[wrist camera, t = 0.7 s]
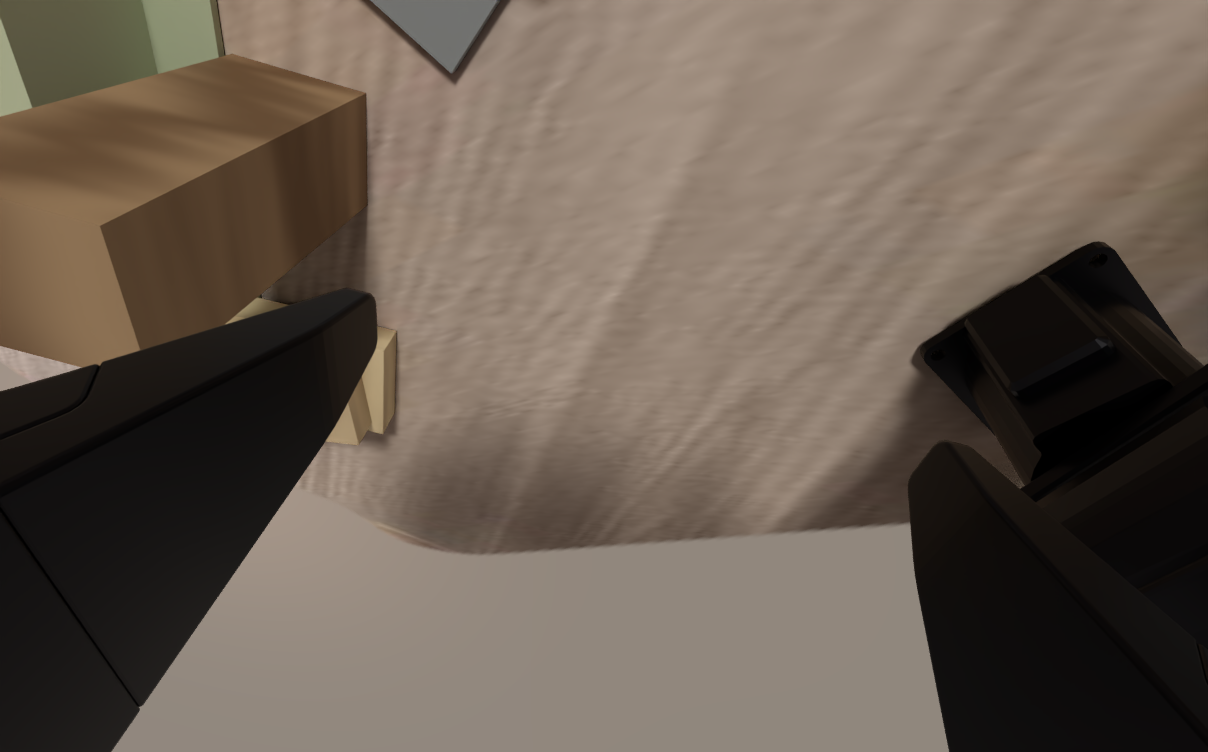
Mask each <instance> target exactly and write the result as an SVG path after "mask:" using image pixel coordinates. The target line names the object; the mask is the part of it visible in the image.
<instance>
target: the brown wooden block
mask: <svg viewBox="0 0 1208 752" xmlns="http://www.w3.org/2000/svg"><path fill="white" fill-rule="evenodd" d="M366 206H367V139H366V93H363V92H360V91H356V90H353V89H350V88H346V87H343V86H339V85H336V84H332V83H329V82H326V81H322V80H319V79H315V78H312V77H309V76H305V75H302V74H298V73H295V72H292V71H288V70H285V69H281V68H278V67H275V66H271V65H268V64H264V63H261V62H258V61H254V60H251V59H247V58H244V57H240V56H237V55H234V54H230V55H226V56H223V57H219V58H215V59H211V60H208V61H204V62H200V63H197V64H193V65H189V66H186V67H182V68H178V69H175V70H171V71H167V72H163V73H160V74H156V75H152V76H149V77H145V78H141V79H138V80H134V81H130V82H127V83H123V84H119V85H115V86H112V87H108V88H104V89H101V90H97V91H93V92H90V93H86V94H82V95H78V96H75V97H71V98H67V99H64V100H60V101H56V102H53V103H49V104H45V105H42V106H38V107H34V108H30V109H27V110H23V111H19V112H16V113H12V114H8V115H5V116H1V117H0V346H3V347H7V348H11V349H14V350H18V351H22V352H26V353H30V354H33V355H37V356H41V357H45V358H49V359H52V360H56V361H60V362H64V363H68V364H71V365H75V366H79V367H86V366H89V365H92V364H98V365H99V366H100V365H101V363H102V362H103V361H106V360H110V359H113V358H116V357H119V356H123V355H126V354H129V353H133V352H136V351H139V350H143V349H146V348H149V347H152V346H156V345H159V344H162V343H166V342H169V341H172V340H176V339H179V338H182V337H185V336H189V335H192V334H195V333H199V332H202V331H205V330H209V329H212V328H215V327H218V326H222V325H225V324H226V323H227V322H228V321H230V320H231V319H232V318H233V317H234V316H236V315H237V314H238V313H239V312H240V311H242V310H243V309H244V308H245V307H246V306H248V305H249V304H250V303H251V302H252V301H253V300H255V299H256V298H257V297H258V296H259V295H261V294H262V293H263V292H264V291H265V290H267V289H268V288H269V287H270V286H271V285H273V284H274V283H275V282H276V281H277V280H279V279H280V278H281V277H282V276H283V275H284V274H286V273H287V272H288V271H289V270H290V269H292V268H293V267H294V266H295V265H296V264H298V263H299V262H300V261H301V260H302V259H304V258H305V257H306V256H307V255H308V254H310V253H311V252H312V251H313V250H314V249H315V248H317V247H318V246H319V245H320V244H321V243H323V242H324V241H325V240H326V239H327V238H329V237H330V236H331V235H332V234H333V233H335V232H336V231H337V230H338V229H339V228H341V227H342V226H343V225H344V224H345V223H346V222H348V221H349V220H350V219H351V218H352V217H354V216H355V215H356V214H357V213H358V212H360V211H361V210H362V209H363V208H364V207H366Z"/></svg>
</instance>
